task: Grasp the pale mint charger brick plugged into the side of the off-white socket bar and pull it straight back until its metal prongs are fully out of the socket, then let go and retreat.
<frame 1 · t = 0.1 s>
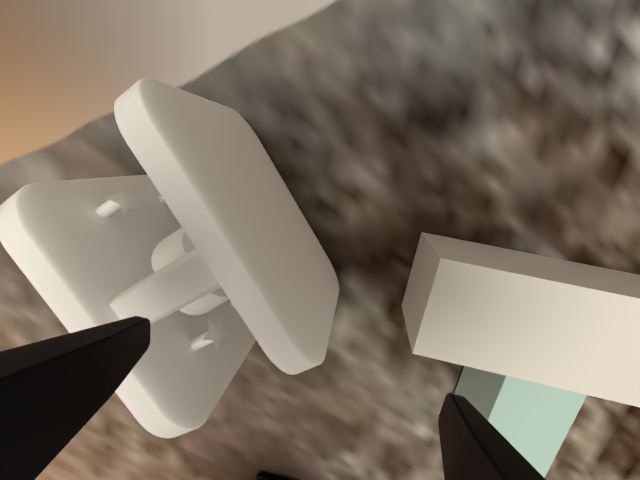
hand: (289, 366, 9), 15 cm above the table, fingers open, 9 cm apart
charger: (512, 386, 21), point 3 cm above the table, slide at 0.0 cm
cable organizer: (247, 234, 24), on the table
socket bar: (522, 293, 22), on the table
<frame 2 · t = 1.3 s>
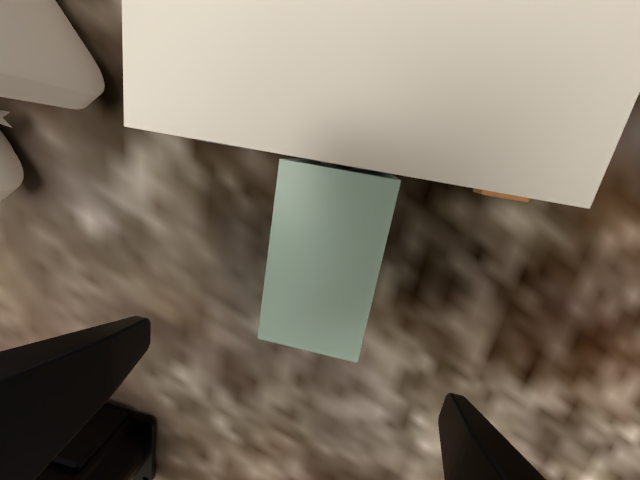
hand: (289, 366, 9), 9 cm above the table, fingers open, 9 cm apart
charger: (333, 224, 14), point 3 cm above the table, slide at 0.0 cm
cable organizer: (3, 47, 18), on the table
socket bar: (360, 101, 15), on the table
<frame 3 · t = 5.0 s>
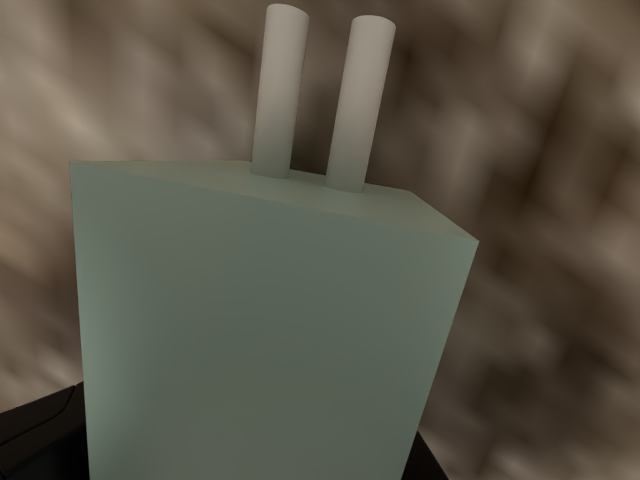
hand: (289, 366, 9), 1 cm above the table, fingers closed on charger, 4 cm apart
charger: (286, 306, 6), point 3 cm above the table, slide at 6.9 cm, touching gripper
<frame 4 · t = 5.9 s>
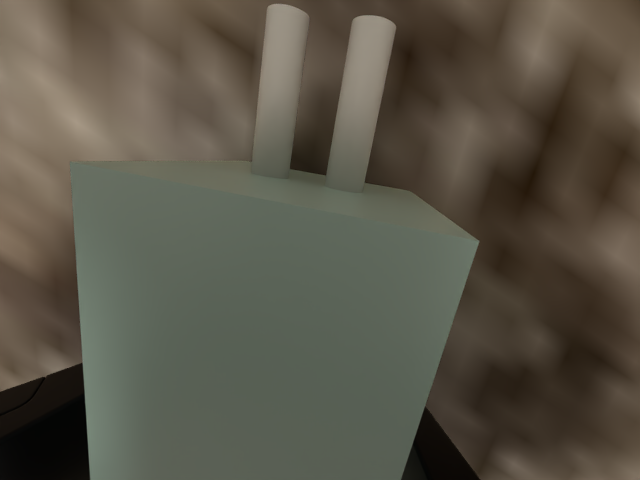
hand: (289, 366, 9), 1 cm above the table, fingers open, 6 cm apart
charger: (287, 306, 6), point 3 cm above the table, slide at 7.0 cm
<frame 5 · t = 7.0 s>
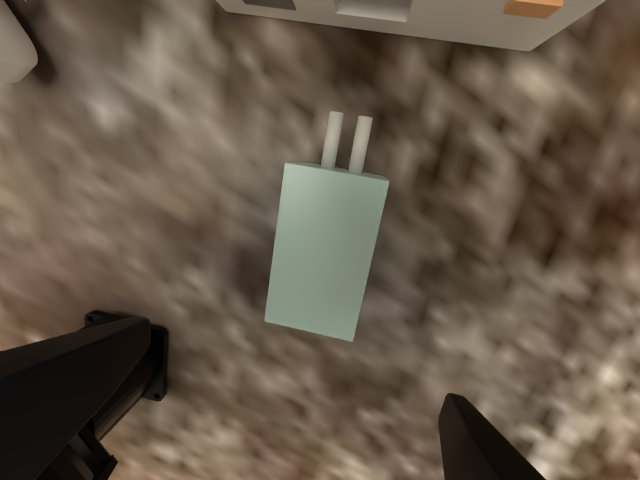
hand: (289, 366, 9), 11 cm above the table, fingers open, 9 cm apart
charger: (331, 220, 16), point 3 cm above the table, slide at 7.0 cm
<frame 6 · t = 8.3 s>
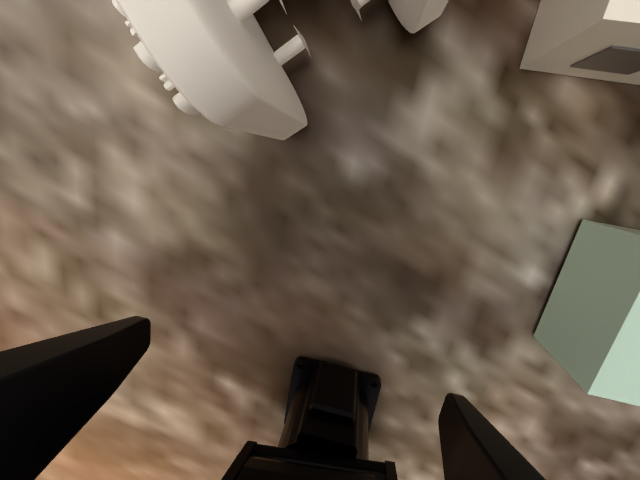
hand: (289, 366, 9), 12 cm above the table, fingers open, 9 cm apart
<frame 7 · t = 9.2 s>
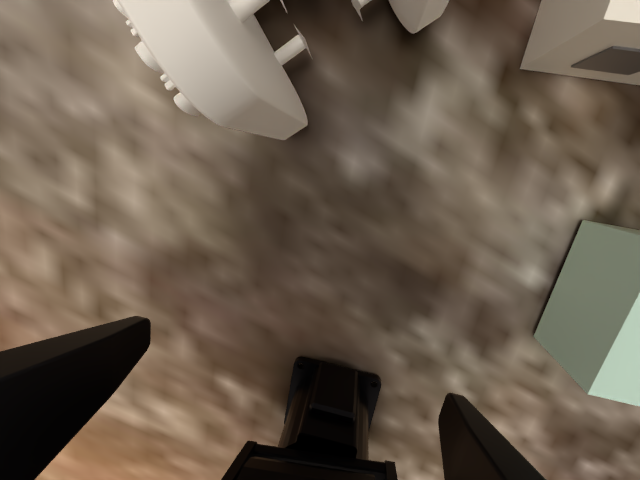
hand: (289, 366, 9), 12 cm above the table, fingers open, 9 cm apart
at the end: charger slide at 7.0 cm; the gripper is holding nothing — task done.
